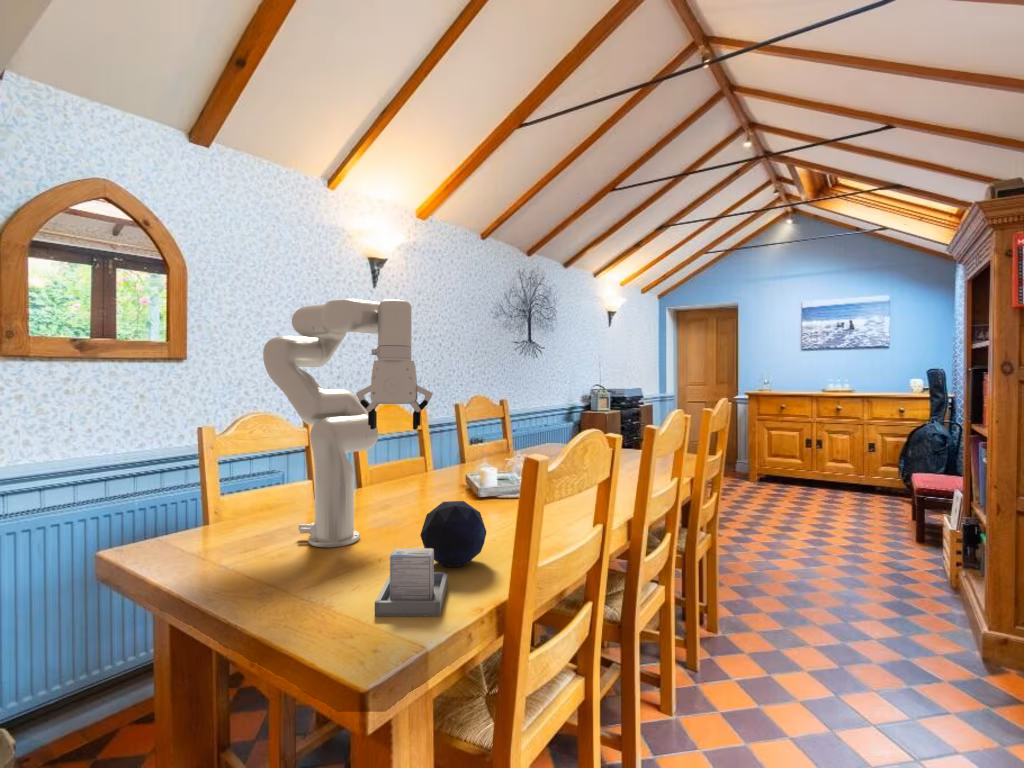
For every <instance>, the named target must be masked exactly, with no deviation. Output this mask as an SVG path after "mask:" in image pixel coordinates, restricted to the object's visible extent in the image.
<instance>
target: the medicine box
mask: <svg viewBox="0 0 1024 768" xmlns="http://www.w3.org/2000/svg"><path fill="white" fill-rule="evenodd" d="M434 566H435V560H434V549H432V548H424V547H423V548H421V547H420V548H419V547H417V548H410V547H409V548H394V549H393V550H392V552H391V554H390V556H389V575H390V601H398V600H432V596H433V592H434V572H435V568H434Z"/></svg>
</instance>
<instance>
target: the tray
mask: <svg viewBox="0 0 1024 768" xmlns="http://www.w3.org/2000/svg"><path fill="white" fill-rule="evenodd" d="M448 579H449V572H448V571H434V592H433V596H432V600H398V601H390V574H388V577H387V579H386V581H385V582H384V584H383V586H382V588H381V590H380V591H379V594H378V595H377V597H376V599H375V601H374V617H441V614H442V608H443V606H444V602H445V597H446V593H447V588H448V585H449V584H448V583H449V580H448Z"/></svg>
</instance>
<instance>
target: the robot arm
mask: <svg viewBox="0 0 1024 768" xmlns="http://www.w3.org/2000/svg"><path fill="white" fill-rule="evenodd" d="M412 314H413V313H412V305H411V304H410V302H409V301H407V300H403V299H402V300H401V299H383V300H381V301H380V302H379V301H378V302H377V301H372V300H371V301H370V300H363V299H356V298H342V299H334V300H329V301H327V302H326V304H324V303H323V304H315V305H305V306H302V307H300V308H299V309H297V310H296V311H295V312H294V313H293V314H292V317H291V326H292V329H293V330H294V331H295V333H297V334H298V335H300V336H295V335H294V336H293V335H281V336H275V337H272V338H270V339H268V340H267V342H266V343H265V344H264V347H263V350H262V357H263V364H264V368H265V371H266V372H267V374H268V376H269V377H270V379H271V380H272V382H273V383H274V384H275V385H276V386H277V387H278V388H279V389H280V390H281V392H283V394H284V395H285V396H286V398H287V400H288V402H289V403H290V404H291V405H292V407H293V408H294V410H295V412H296V413H297V414H298V416H299V417H300V418H301V420H302V421H303V422H304V424H307V425H310V426H311V428H310V432H309V439H310V440H309V441H310V445H311V449H312V456H313V466H314V468H313V469H314V522H311V523H309V524H308V523H299V524H298V532H299V533H300V534H309V536H308V538H307V542H308V544H309V545H310V546H313V547H317V548H337V547H344V546H348V545H351V544H354V543H356V542H358V541H359V540H360V538H361V536H360V535H361V534H360V532H359V531H357V530H355V529H354V525H355V523H354V522H355V520H354V518H355V516H354V514H355V511H354V505H355V502H354V500H355V499H354V498H355V494H354V493H355V492H354V491H355V490H354V489H355V487H354V485H355V484H354V482H355V481H354V480H355V478H354V477H355V476H354V467H353V465H352V463H351V461H350V460H349V458H348V456H347V454H348V453H349V454H350V453H355V452H361V451H362V452H363V451H367V450H370V449H372V448H373V447H374V446H375V445H376V443H377V442H378V440H379V429H378V427H377V424H378V423H377V418H378V417H377V410H376V408H377V407H378V406H379V405H410V406H411V407H412V408H413V412H412V430H416V431H417V430H418V429H419V426H421V417H422V416H421V415H422V414H421V413H422V411H423V410H424V409H425V408H426V407H427V406H428V404H429V403H430V400H431V399H432V397H433V395H434V394H433V392H431V391H430V390H427V389H426V388H424V387H422V386H420V385H418V379H417V371H416V370H417V369H416V363H415V360H412ZM347 333H363V334H373V335H375V334H376V335H377V346H376V348H372V349H371V352H370V353H371V355H372V356H376V358H377V359H376V360H373V364H372V365H373V366H372V369H371V370H372V371H371V381H370V385H369V386H367V387H364V388H362V389H360V390H359V391H357V392H356V393H355V394H354V393H352V392H351V391H349V390H346V389H337V388H336V389H335V388H332V389H330V388H329V389H326V388H323V387H321V386H320V385H319V384H318V382H317V381H316V379H315V378H314V377H313V376H312V375H311V374H310V373H308V372H307V371H306V370H304V369H302V368H318V367H319V368H320V367H323V366H325V365H326V364H327V363H329V361H330V360H331V359H332V357H333V355H334V354H335V352H336V351H337V349H338V348H339V347H340V345H341V344H342V341H343V340H344V338H345V337H346V335H347ZM369 393H370V394H369ZM418 393H420V394H421V395H423V396H424V399H423V400H422V401H421V402H420V403H419V402H418V401H417V400H418ZM367 394H369V395H370V400H371V402H369V401H368V400H367V399H366V395H367Z"/></svg>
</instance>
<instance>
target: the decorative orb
mask: <svg viewBox="0 0 1024 768" xmlns="http://www.w3.org/2000/svg"><path fill="white" fill-rule="evenodd" d="M486 537H487V529H486V526H485V523H484V519H483V518H482V514H481V512H480V511H479V510H477V509H476V508H474V507H473V506H472V505H470V504H468V503H467V502H466V501H464V500H455V501H454V500H452V501H442V502H441V503H440V504H438V505H436V507H435V508H433V509H432V510H431V511H429V512H428V513H427V514H426V515H425V519H424V522H423V525H422V528H421V531H420V539H421V541H422V545H423V548H432V549H434V562H436V563H438V564H439V565H440V566H442V567H443V568H447V567H448V568H449V567H450V568H454V567H464V566H466V565H467V564H468V563H470V562H471V561H472V560H473V559H474V558H476V557H477V556H478V555H480V553H481V552H482V549H483V547H484V544H485V541H486Z"/></svg>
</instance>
